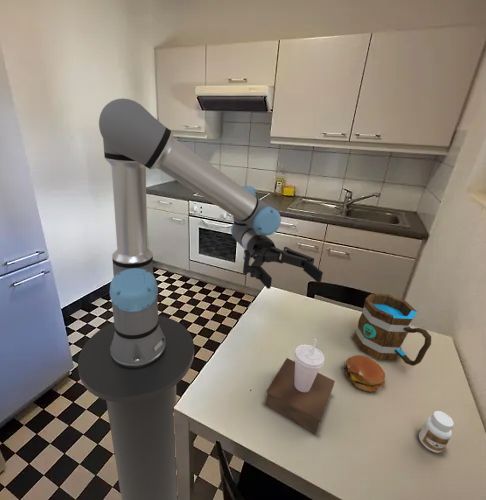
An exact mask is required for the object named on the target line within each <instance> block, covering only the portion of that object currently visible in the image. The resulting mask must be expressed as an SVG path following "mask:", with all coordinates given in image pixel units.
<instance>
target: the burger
mask: <svg viewBox="0 0 486 500" xmlns="http://www.w3.org/2000/svg"><path fill="white" fill-rule="evenodd" d="M344 364H345V366H344V368H343V369H344V371H345V376H346V377H347V380H349V381H351V382H352V383H353V385H354V386H355V387H356V388H357V389H359V390H361V391H364V392H369V393H373V392H377V391H378V390H379V389H381V388H382V387H384V385H385V383H386V380H385V379H386V373H385V371H384V369H383V367H382V366H381V365H380V364H379V363H377V362H376V361H375V360H374V359H372V358H371V357H369V356H366V355H364V354H356V355H355V354H354V355H352V356H350V357H348V358H347V359H346V360H345V362H344Z"/></svg>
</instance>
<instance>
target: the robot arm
mask: <svg viewBox="0 0 486 500" xmlns="http://www.w3.org/2000/svg"><path fill="white" fill-rule="evenodd" d="M98 119H99V120H98V128H99V132H100V136H101V137H102V142H103V154H104V160H105V161H106V162H107V163H108V164H109V165H110V166H111V179H112V193H113V194H112V195H113V207H114V208H113V209H114V221H115V222H114V223H115V236H116V238H115V239H116V250H115V251H114V252H113V253H112V255H111V258H112V271H113V277H112V279H111V281H110V283H109V297H110V301H111V308H112V316H113V322H114V326H115V333H114V338H113V341H112V343H111V347H110V352H111V358H112V360H113V362H114V363H115V364H116V365H118V366H120V367H122V368H125V369H140V368H144V367H147V366H150V365H152V364H154V363H155V362H157V361H158V360H159V359H160V358H161V357H162V356H163V354H164V352H165V349H166V340H165V336H164V335H163V332H162V330H161V328H160V326H159V324H158V316H159V305H158V292H159V287H158V282H157V279H156V277H155V276H154V253H153V251H152V250H151V249H149V248H148V211H147V208H148V207H147V206H148V205H147V169H149V170H154V169H156V170H157V169H158V170H159V171H161V172H162V173H164V174H165V175H167V176H168V177H170V178H172V179H173V180H175V181H177V182H178V183H180V184H182V185H183V186H184V187H186V188H188V189H189V190H191V191H193V192H194V193H196V194H197V195H199V196H201V197H202V198H204V199H206V200H207V201H209V202H210V203H211V204H214V205H215V206H217V207H218V208H220V209H221V210H223V211H224V212H226V213H228V214H229V215H231V216H232V218H233V223H232V224H231V228H230V233H231V236H232V237H233V239H234V241H235V242H236V243H238V244H239V245H240V246H241V247H242V248H243V249H244V250H243V260H244V261H243V265H242V266H243V267H242V274H243V275H247V274H250V275H249V277H250V278H255V280H259V281H260V282H261V283H262V284H263V286H264V287H265V288H266V289H267V290H269V289H271V288H272V287H271V286H272V280H273V278H272V276H271V275H270V274H269V273H268V272H267V271H266V270H265V268H263V267H262V266H263V265H264V263H267V264H268V263H278V264H286V265H287V264H288V265H291V266H294V267H297V268H302V269H303V270H302V271H303V272H304V273H305V274H307V275H308V276H309V277H310V278H311V279H313V280H314V281H315V282H317V283H321V282H322V280H323V279H322V278H323V274H324V272H323V271H322V270H320V269H319V268H318V267H317V266H316V265H315V258H314V257H312V256H310V255H307V254H304V253H302V252H300V251H296V250H293V249H291V248H289V247H288V246H283V249H280V248H278V247H277V246H276V245H275V242H274V241H273V240H272V239H271V238H270V237H268V236H271V235H273V234H275V233H276V232H277V231H278V230H279V228H280V226H281V223H282V216H281V214H280V212H279V211H278V210H276V208H274V207H273V206H271V205H269V204H267V203H266V202H264V201H263V200H262V199H260V198H259V197H257V194H256V188H255V187H254V186H252V185H240V184H239V183H237V181H235V180H233V179H232V178H230V177H229V176H227V174H225V173H223V172H222V171H221V170H219V169H218V168H216V167H215V166H213V165H212V164H211V163H210V162H208V161H206V160H205V159H203V158H202V157H201V156H199V155H198V154H196V153H195V152H194V151H192V150H191V149H189V147H187V146H185V145H184V144H183V143H181V142H180V141H178V140H177V139H175V137H174V134H173V131H172V130H171V129H169V128H168V127H167V126H166V125H164V124H163V123H162V122H161V121H159V120H158V119H157V118H156V117H155V116H153V114H151V112H150V111H148V110H147V109H146V108H145V107H144V106H143V105H141V104H140V103H139V102H137V101H135V100H133V99H130V98H124V97H123V98H116V99H113V100H110V101H109V102H108V103H107V104H106V105H104V107H103V108H102V110H101V111H100V114H99V118H98ZM251 259H253V260H254V261H253V262H252V263H251V265H250V261H251Z"/></svg>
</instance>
